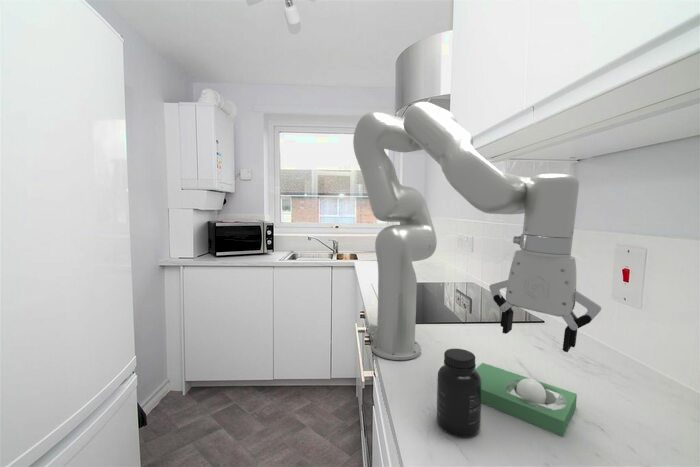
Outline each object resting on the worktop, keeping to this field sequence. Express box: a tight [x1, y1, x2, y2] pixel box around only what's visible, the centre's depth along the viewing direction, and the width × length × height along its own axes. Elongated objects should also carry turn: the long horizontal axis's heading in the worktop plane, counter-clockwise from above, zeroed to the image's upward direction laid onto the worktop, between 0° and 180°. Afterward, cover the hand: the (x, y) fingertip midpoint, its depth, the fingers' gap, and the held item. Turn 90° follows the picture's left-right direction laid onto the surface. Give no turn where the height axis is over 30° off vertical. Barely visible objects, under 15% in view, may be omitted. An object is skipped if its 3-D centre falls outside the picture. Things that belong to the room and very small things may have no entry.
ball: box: [516, 378, 546, 405], centre depth 59 cm, size 5×5×5 cm
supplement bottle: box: [436, 348, 482, 438], centre depth 53 cm, size 7×7×12 cm
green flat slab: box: [475, 362, 578, 437], centre depth 61 cm, size 17×11×2 cm, turn 47°
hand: (535, 340), depth 59 cm, fingers open, 9 cm apart
